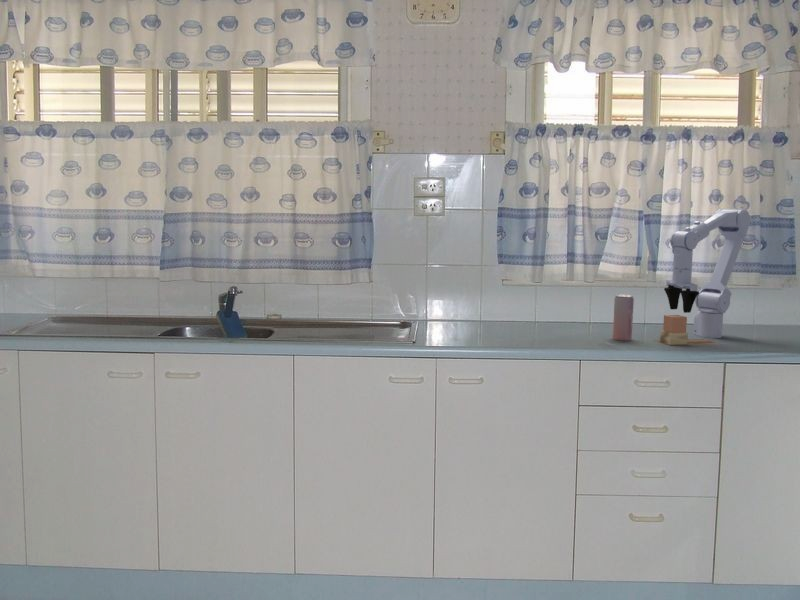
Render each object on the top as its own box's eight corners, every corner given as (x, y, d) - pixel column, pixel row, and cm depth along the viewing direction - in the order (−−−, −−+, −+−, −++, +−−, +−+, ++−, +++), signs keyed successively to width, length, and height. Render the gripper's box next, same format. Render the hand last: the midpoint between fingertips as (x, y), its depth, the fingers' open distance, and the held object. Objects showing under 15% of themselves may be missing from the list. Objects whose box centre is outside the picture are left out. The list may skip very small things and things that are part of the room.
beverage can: (617, 339, 273) (619, 294, 271) (634, 341, 269) (636, 295, 267) (609, 341, 268) (611, 295, 266) (626, 343, 264) (629, 297, 263)
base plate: (653, 342, 267) (653, 340, 267) (703, 341, 271) (703, 338, 271) (670, 348, 257) (670, 345, 257) (721, 346, 262) (721, 344, 261)
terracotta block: (663, 330, 264) (664, 315, 264) (677, 330, 266) (678, 314, 265) (671, 333, 260) (672, 317, 259) (686, 332, 261) (686, 317, 260)
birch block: (659, 341, 265) (660, 330, 265) (676, 340, 267) (677, 330, 266) (670, 344, 259) (670, 333, 259) (687, 344, 261) (687, 333, 260)
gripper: (658, 267, 272) (656, 308, 273) (684, 271, 258) (682, 314, 259) (678, 266, 273) (676, 307, 275) (704, 270, 259) (701, 313, 261)
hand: (680, 310), depth 267 cm, fingers open, 7 cm apart
